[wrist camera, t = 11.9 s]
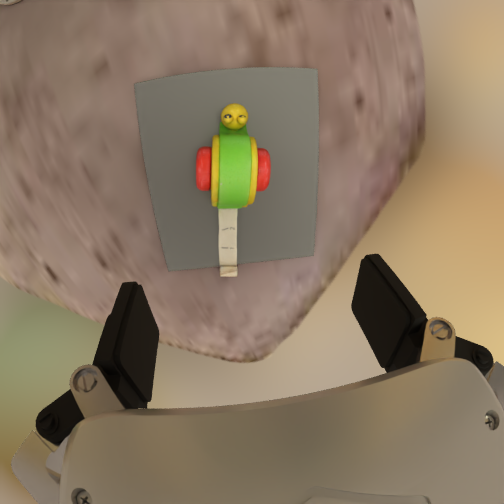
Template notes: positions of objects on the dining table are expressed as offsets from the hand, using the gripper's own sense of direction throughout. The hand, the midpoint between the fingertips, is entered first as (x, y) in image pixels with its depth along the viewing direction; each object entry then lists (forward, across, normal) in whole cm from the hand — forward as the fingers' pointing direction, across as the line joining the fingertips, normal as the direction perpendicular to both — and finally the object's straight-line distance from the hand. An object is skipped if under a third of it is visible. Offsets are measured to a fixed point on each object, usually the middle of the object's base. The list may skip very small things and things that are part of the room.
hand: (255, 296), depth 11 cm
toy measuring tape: (+19, 0, +3) cm, 19 cm away
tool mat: (+19, 0, 0) cm, 19 cm away
